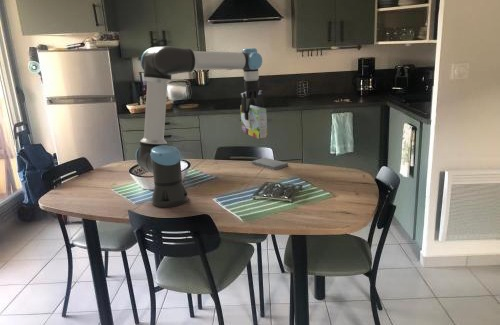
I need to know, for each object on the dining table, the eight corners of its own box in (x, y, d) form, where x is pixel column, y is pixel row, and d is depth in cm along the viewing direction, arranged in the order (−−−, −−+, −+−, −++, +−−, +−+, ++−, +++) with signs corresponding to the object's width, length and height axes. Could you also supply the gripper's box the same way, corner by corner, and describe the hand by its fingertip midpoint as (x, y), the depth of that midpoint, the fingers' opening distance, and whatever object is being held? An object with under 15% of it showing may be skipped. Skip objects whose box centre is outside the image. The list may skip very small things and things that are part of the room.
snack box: (240, 132, 219) (239, 105, 215) (250, 131, 221) (249, 104, 217) (258, 139, 200) (257, 109, 196) (268, 138, 202) (267, 108, 199)
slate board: (287, 165, 215) (287, 163, 215) (274, 169, 209) (274, 167, 209) (265, 160, 229) (264, 157, 228) (251, 164, 222) (251, 161, 222)
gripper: (260, 78, 212) (262, 121, 218) (231, 81, 200) (234, 127, 206) (270, 78, 206) (272, 122, 212) (241, 81, 194) (244, 128, 200)
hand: (253, 124), depth 209 cm, fingers closed on snack box, 7 cm apart
